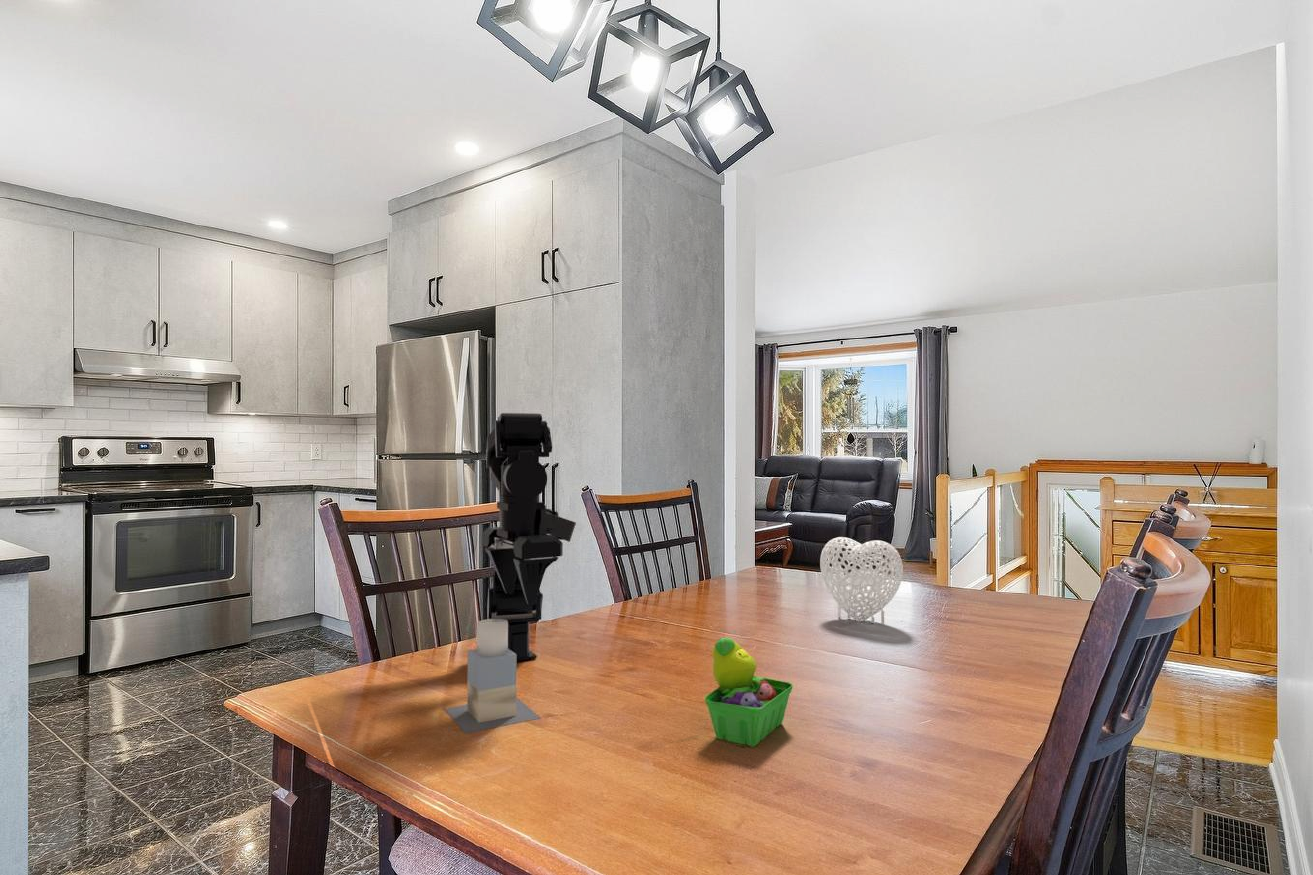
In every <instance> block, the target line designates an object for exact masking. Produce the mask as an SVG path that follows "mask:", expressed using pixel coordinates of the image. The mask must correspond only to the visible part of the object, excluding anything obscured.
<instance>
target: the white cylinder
mask: <svg viewBox="0 0 1313 875" xmlns="http://www.w3.org/2000/svg"><path fill="white" fill-rule="evenodd" d="M476 649H477V654H478V655H480V656H486V657H492V656H500V655H504V654H506V653H507V652H508V621H507V620H505V619H483V620H479V621H477V623H476Z"/></svg>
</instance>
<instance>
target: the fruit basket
mask: <svg viewBox="0 0 1313 875" xmlns="http://www.w3.org/2000/svg"><path fill="white" fill-rule="evenodd" d="M712 658H713V668H712V670H713V675H714V679H715V681H716V683H717V684H718V686H719V687H717V688H715V689H714V690H713V691H711V692H710V693H708V694H707V695H705V696H704V700H705V704H706V706H707V707H708V708H707V709H708V712H709V716H710V719H711V722H712V726H713V729H714V732H715V734H714V735H715V737H716V739H719V740H725V741H728V742H731V743H735V744H736V743H737V744H741V745H747V746H749V747H756V746H757V745H758V744H759V743H760V741H762V740H764V739H765V738H766V737H767V736H768V735H769V734H771V733H772V732H773V731H774V730H776V728H778V727H779V726H781V725H782V723H783V720H784V717H785V712H786V710H787V705H788V701H789V698H790V695H791V693H792V690H793V687H794V684H793V683H792V682H789V681H784V680H780V679H779V680H778V679H774V678H773V679H772V678H767V677H762V676H757V675H755V674H756V673H755V672H756V669H757V662H756V660H755V659H754V657H753V656H751V655H750V654H749V652H747V651H746V650H745V649H744V648H743V647H742V646H740V645H739V644H738V643H737V642H736V641H734V639H732V638H730V637H722V638H721V637H720V638H718V639H717V641H716V642H715V643H714V648H713V651H712Z"/></svg>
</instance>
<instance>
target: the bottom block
mask: <svg viewBox="0 0 1313 875" xmlns="http://www.w3.org/2000/svg"><path fill="white" fill-rule="evenodd" d="M466 695H467V699H466V700H467V703H466V704H467V711H468V712H469V713H470V714H471V715H472V716H473V717H474V718H475V719H476V720H477V721H478V722H479V723H480V722H485V721H490V720H496V719H501V718H506V717H511V716H516V697H517V684H516V685H512V686H506V687H501V688H495V689H489V690H483V691H478V690H477V689H476V688H475V687H474V686H473V685H472V684H471V683H470V682H468V681H467V694H466Z"/></svg>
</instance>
